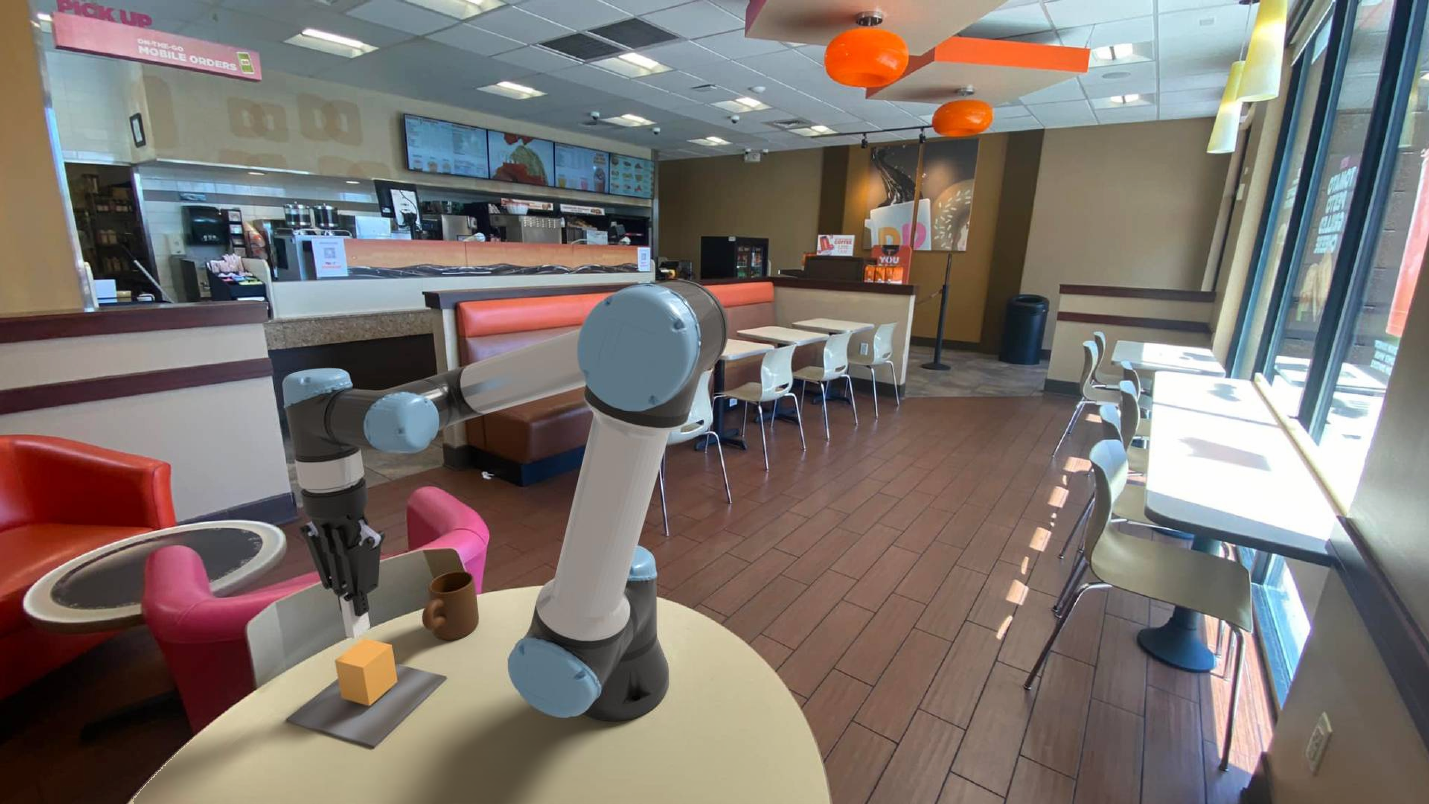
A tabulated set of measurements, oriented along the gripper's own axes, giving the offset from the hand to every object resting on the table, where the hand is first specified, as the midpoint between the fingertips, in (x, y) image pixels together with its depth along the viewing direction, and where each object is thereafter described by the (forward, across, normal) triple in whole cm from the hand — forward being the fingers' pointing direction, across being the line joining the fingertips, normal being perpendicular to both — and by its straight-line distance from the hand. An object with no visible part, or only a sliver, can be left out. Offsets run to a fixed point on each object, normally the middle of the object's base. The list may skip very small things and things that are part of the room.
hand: (358, 631), depth 86 cm
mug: (+12, -1, -16) cm, 20 cm away
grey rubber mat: (+12, 0, 0) cm, 12 cm away
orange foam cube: (+10, 0, 0) cm, 10 cm away
